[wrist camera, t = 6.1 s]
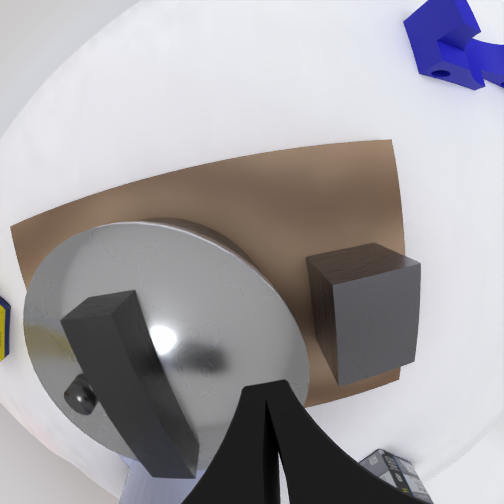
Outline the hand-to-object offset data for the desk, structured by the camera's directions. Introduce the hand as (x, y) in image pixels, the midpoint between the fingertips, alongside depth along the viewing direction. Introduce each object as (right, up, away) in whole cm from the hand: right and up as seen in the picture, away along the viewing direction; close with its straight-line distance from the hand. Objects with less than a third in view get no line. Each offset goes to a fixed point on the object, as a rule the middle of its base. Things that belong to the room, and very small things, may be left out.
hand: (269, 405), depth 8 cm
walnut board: (-3, +1, +8) cm, 9 cm away
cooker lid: (-5, 0, +2) cm, 5 cm away
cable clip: (+16, +19, +5) cm, 26 cm away
